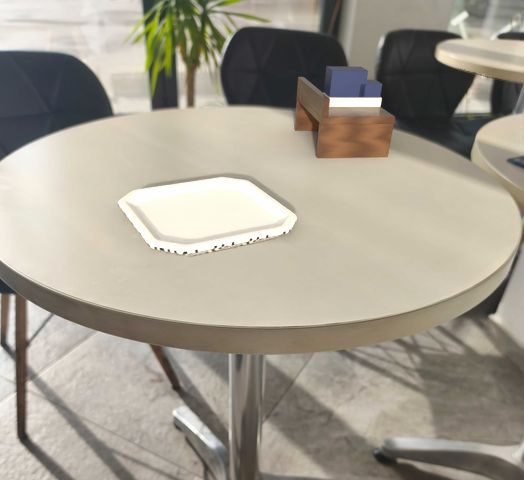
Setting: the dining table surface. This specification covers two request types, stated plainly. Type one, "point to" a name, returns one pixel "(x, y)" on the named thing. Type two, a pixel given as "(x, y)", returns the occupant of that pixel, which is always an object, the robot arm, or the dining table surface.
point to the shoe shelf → (342, 125)
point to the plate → (205, 215)
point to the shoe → (351, 87)
